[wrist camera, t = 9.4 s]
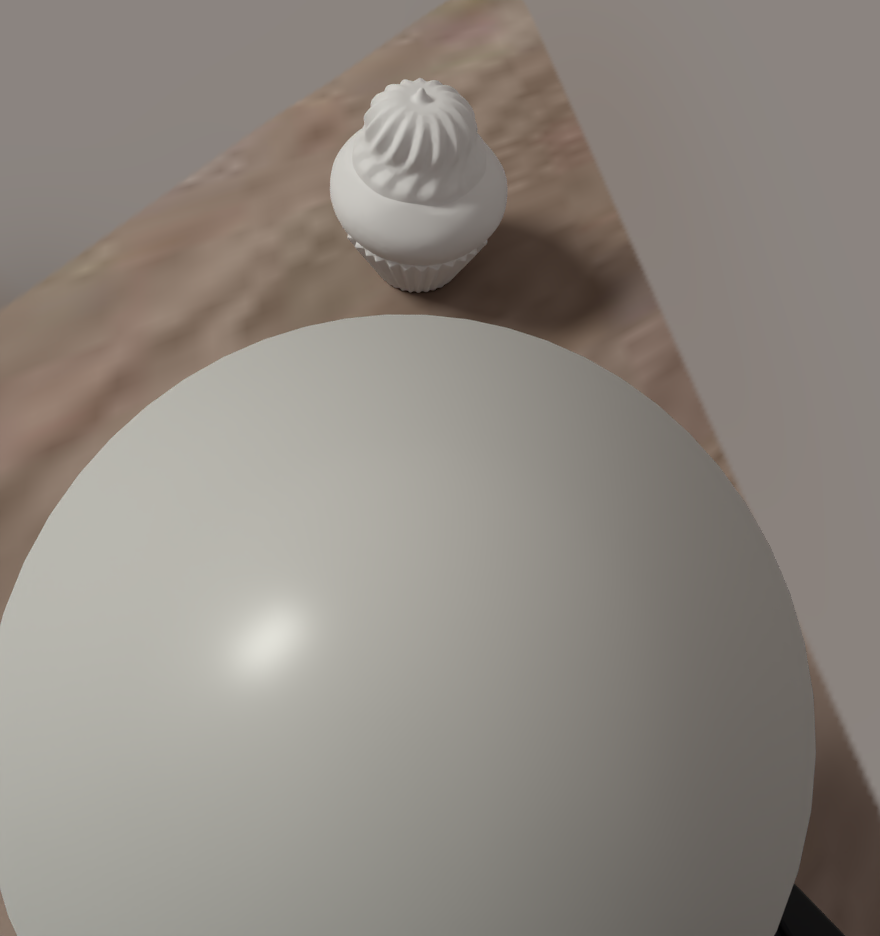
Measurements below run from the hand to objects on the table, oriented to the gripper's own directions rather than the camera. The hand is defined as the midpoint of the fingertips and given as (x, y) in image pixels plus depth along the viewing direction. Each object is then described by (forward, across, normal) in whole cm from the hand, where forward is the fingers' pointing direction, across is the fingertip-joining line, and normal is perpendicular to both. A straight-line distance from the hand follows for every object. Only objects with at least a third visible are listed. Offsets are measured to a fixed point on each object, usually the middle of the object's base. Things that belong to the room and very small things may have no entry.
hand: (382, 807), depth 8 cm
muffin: (+20, +3, -6) cm, 21 cm away
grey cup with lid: (+7, 0, +5) cm, 8 cm away
